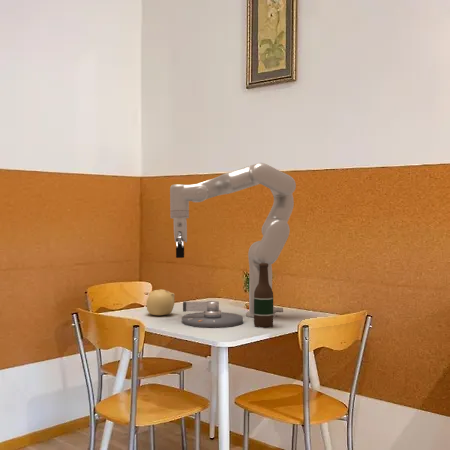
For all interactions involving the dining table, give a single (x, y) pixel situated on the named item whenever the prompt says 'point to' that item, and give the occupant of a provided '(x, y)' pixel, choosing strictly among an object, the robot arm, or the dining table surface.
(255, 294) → the beer bottle
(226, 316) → the dial plate
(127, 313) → the dining table surface
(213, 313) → the dial
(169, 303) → the sculpture
